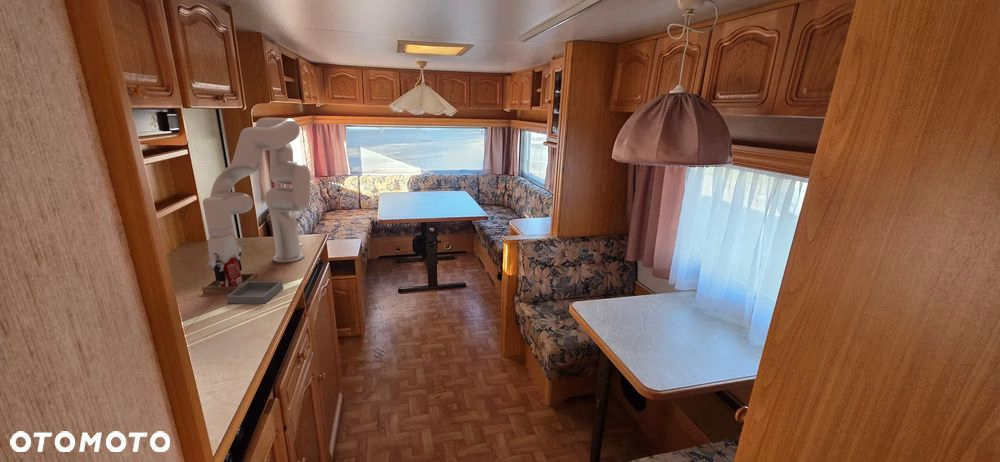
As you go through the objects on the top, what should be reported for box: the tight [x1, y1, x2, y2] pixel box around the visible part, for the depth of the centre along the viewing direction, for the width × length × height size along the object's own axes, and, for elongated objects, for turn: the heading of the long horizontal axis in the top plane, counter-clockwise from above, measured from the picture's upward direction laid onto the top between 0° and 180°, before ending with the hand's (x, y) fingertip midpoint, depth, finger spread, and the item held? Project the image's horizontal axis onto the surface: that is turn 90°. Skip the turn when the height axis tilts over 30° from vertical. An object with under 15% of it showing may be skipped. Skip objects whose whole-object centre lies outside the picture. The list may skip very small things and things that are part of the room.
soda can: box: [218, 256, 243, 287], centre depth 149 cm, size 7×7×12 cm
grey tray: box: [225, 280, 284, 306], centre depth 143 cm, size 13×13×3 cm
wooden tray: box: [201, 273, 259, 295], centre depth 150 cm, size 13×13×2 cm
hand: (229, 275), depth 149 cm, fingers open, 9 cm apart
